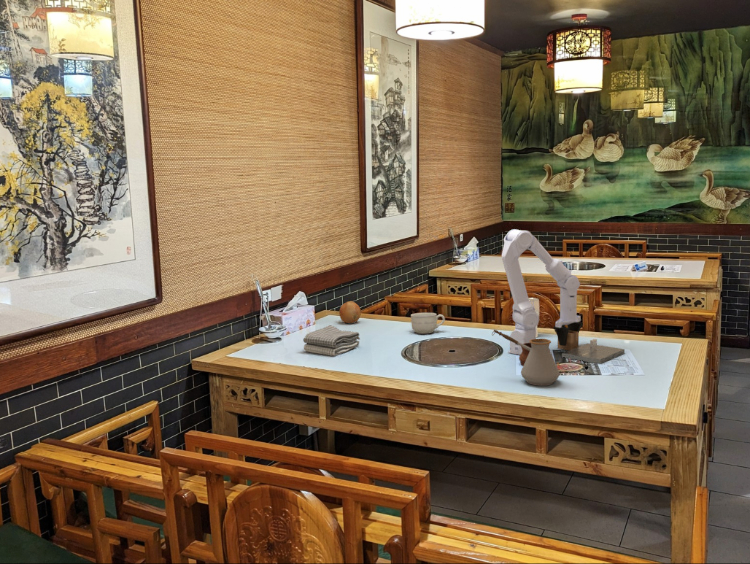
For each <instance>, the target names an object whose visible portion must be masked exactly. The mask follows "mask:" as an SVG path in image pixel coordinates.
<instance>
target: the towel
mask: <svg viewBox="0 0 750 564" xmlns="http://www.w3.org/2000/svg"><path fill="white" fill-rule="evenodd" d="M360 340H361V338H360V333H359V332H358V331H351V330H350V331H349V330H340V329H339V328H337V327H336V326H334V325H328V326H326V327H323V328H320V329H316V330H314V331H311V332H310V331H309V332H308V333H307V334H305V336H304V337H303V343H305V344H304V345H303V350H304V351H305V352H306V353H307V352H308V353H311V354H312V353H313V354H319V355H324V356H330V357H331V356H333V357H334V356H335V357H336V356H339V355H342V354H343V353H346V352H348V351H351V350H352V349H355V348H357V347H359V345H360Z"/></svg>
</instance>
